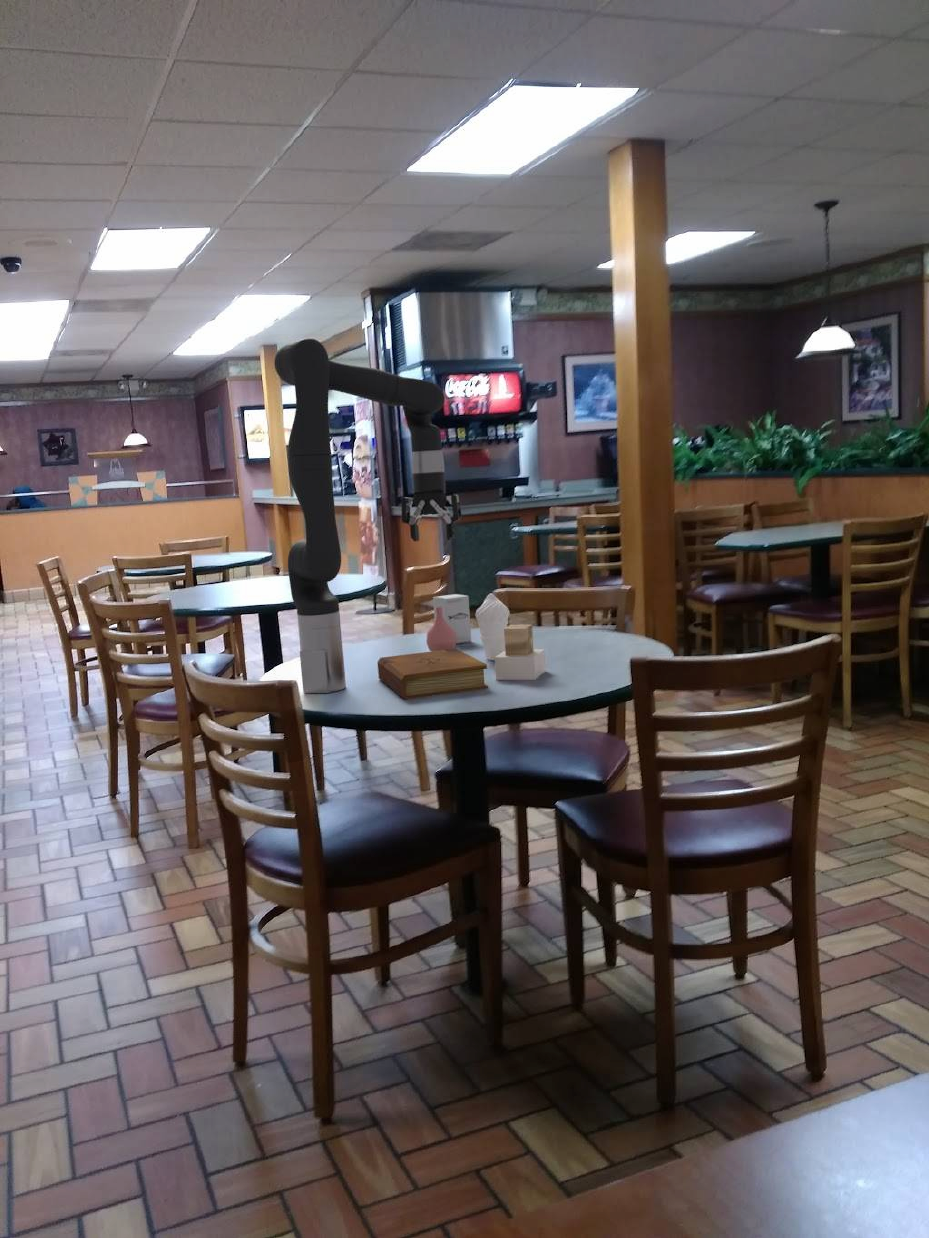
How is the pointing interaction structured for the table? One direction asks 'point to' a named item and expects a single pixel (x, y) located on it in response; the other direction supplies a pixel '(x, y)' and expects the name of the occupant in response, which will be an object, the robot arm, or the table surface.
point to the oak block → (518, 640)
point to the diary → (432, 673)
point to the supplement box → (455, 614)
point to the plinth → (520, 666)
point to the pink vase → (440, 634)
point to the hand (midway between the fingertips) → (433, 540)
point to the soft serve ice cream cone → (492, 625)
